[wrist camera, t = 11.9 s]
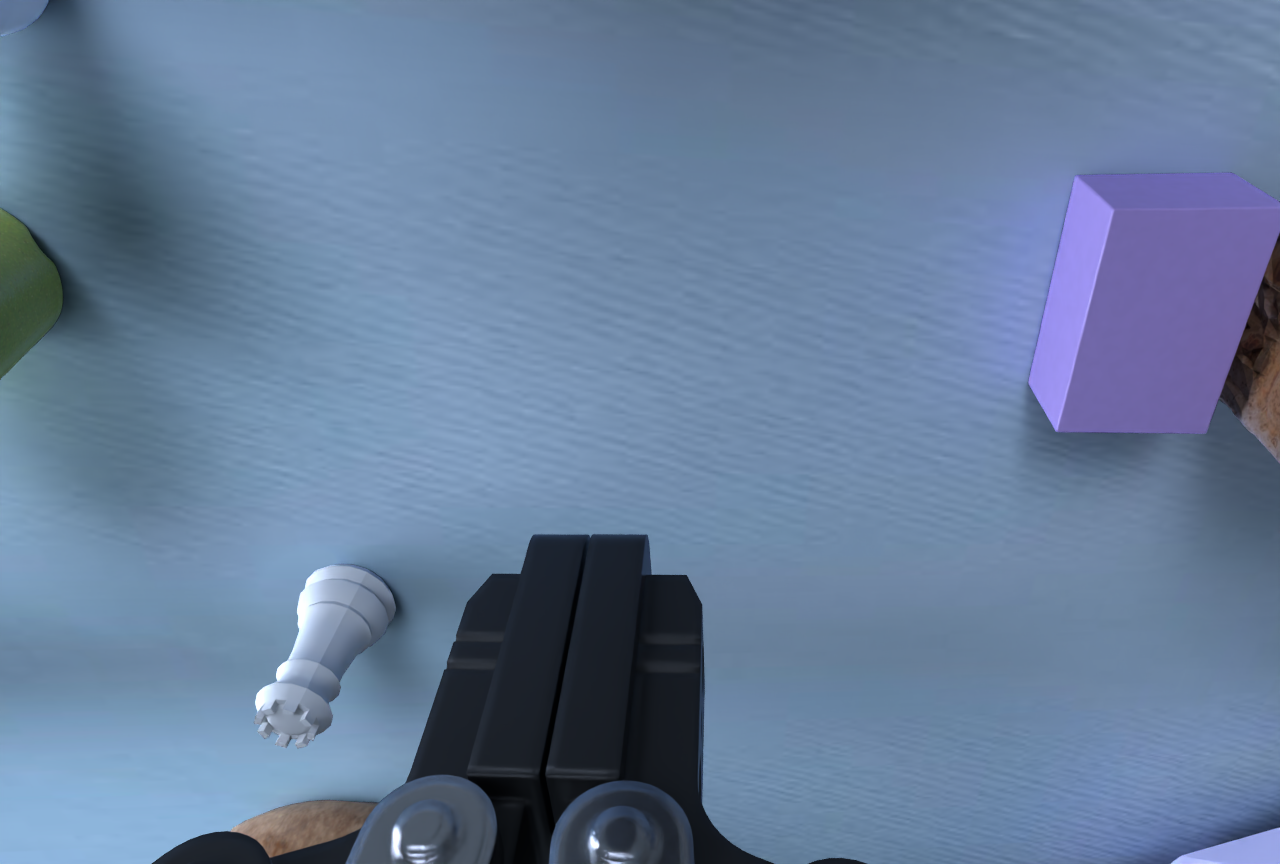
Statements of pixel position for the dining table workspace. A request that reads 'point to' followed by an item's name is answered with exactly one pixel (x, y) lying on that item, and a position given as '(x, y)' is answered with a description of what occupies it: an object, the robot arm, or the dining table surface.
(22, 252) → the plant pot
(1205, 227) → the lavender block
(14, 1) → the drinking glass
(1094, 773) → the dining table surface
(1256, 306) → the food item
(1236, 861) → the fruit bowl
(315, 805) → the bread
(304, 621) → the rook chess piece
